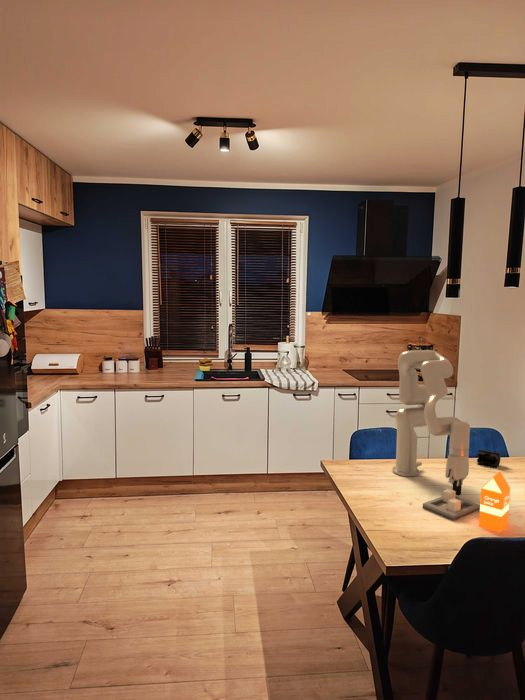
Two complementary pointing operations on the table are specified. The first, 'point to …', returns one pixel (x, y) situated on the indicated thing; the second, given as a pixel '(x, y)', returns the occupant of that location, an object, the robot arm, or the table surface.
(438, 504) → the switch board
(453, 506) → the tab
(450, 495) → the tab
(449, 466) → the robot arm
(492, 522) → the orange juice
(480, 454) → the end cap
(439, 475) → the table surface
